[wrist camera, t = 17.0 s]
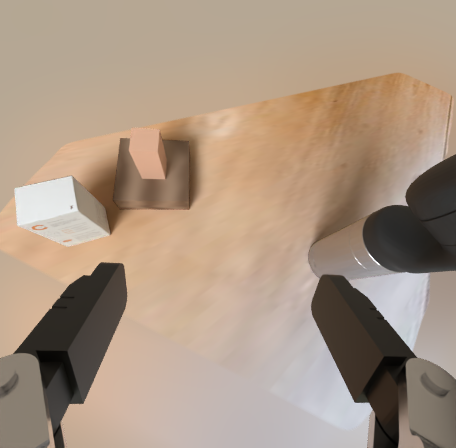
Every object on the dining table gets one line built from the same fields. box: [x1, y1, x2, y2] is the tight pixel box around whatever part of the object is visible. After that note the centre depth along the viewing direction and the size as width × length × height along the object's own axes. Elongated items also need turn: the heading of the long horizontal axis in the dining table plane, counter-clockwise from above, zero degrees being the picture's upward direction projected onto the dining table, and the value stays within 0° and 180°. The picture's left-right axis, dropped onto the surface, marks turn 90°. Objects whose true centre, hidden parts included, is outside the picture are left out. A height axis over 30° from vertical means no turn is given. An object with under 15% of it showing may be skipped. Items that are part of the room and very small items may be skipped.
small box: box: [15, 176, 111, 247], centre depth 40 cm, size 8×6×13 cm
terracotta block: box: [129, 128, 167, 180], centre depth 42 cm, size 4×4×9 cm
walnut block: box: [113, 138, 190, 210], centre depth 49 cm, size 14×14×5 cm
